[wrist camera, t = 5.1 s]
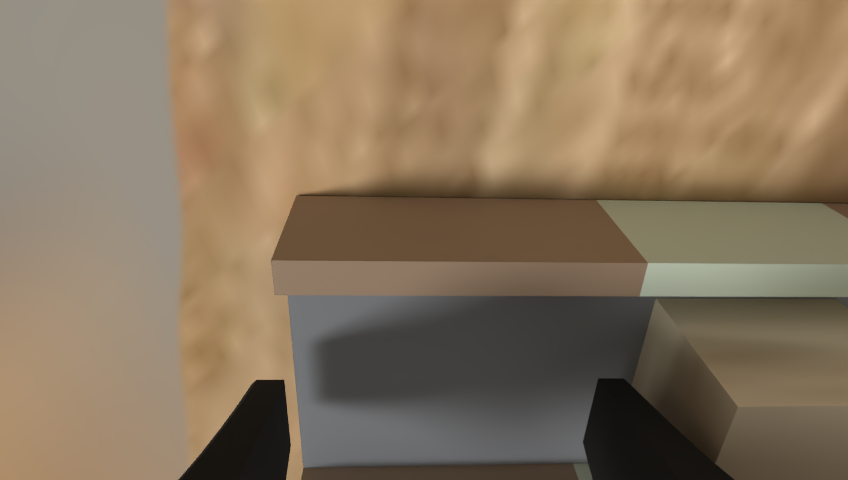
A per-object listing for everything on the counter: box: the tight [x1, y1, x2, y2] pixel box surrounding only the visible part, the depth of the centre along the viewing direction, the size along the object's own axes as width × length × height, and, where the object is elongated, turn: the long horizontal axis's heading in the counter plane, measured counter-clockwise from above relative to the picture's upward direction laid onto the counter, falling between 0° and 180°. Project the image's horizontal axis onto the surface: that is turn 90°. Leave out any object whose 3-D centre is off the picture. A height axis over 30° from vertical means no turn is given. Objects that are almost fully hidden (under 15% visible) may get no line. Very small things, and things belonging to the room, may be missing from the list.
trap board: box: [271, 196, 848, 480], centre depth 15 cm, size 8×20×3 cm, turn 88°
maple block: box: [632, 299, 848, 480], centre depth 13 cm, size 4×4×4 cm
